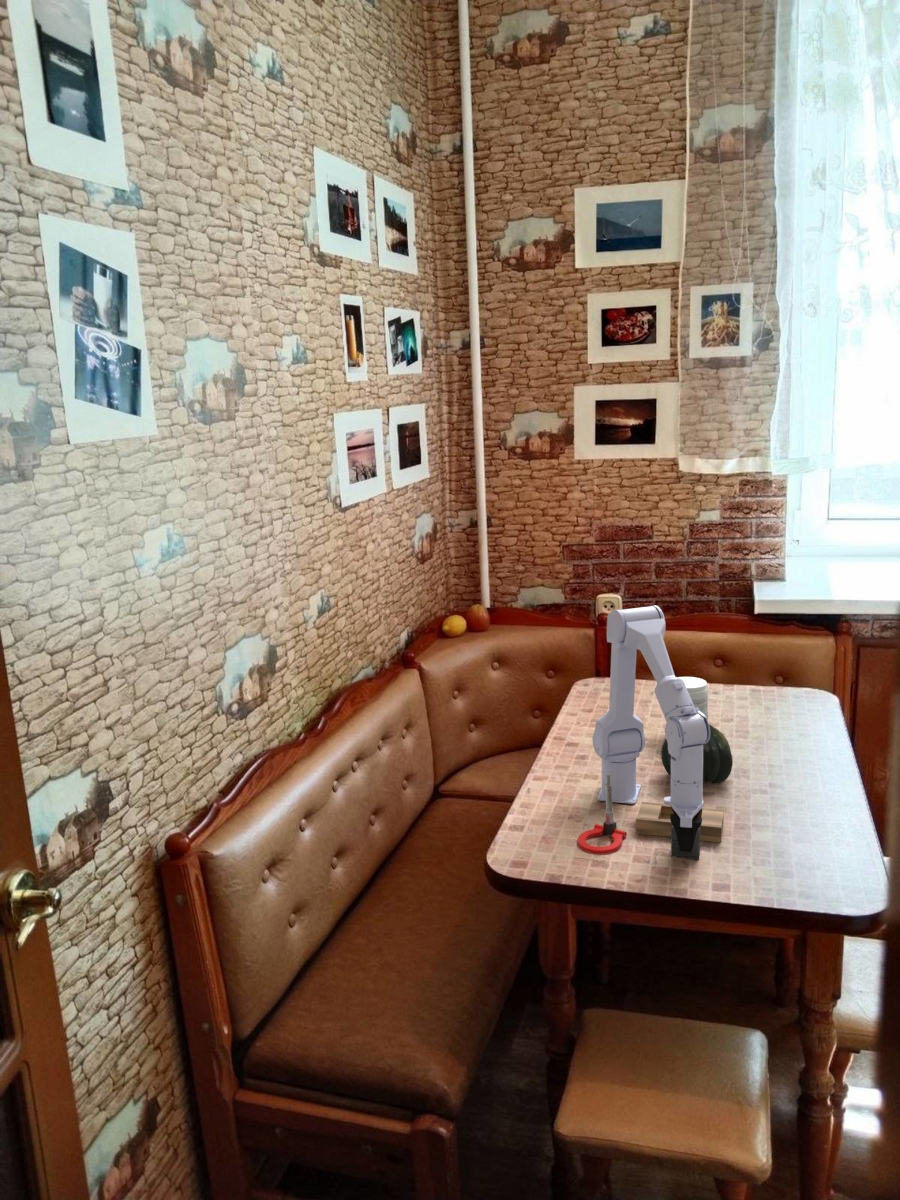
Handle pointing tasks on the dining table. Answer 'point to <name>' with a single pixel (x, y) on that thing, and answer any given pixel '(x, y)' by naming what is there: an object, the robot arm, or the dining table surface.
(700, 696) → the supplement tub
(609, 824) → the tow hook
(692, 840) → the robot arm
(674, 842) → the grey rectangular prism
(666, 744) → the squash
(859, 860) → the dining table surface
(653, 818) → the open wooden tray
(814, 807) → the dining table surface
